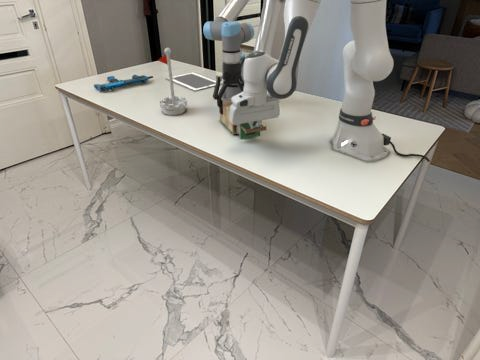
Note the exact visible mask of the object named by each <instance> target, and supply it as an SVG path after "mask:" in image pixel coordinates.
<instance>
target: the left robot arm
mask: <svg viewBox="0 0 480 360" xmlns="http://www.w3.org/2000/svg"><path fill="white" fill-rule="evenodd" d="M249 1H250V0H228V1H227V2H226V4H225V5H224V6H223V8H222V9H221V10H220V11H219V12H218V14H217V16H216V17H215V19H214V20H213V21H212V20H210V21H206V22H205V23H204V25H203V29H202V31H203V35H204V36H203V37H205V39H207V40H211V41H216V42H217V41H218V42H221V47H222V49H221V51H222V52H221V53H222V60H221V61H222V62H221V70H222V71H221V73H222V75H216V76H215V81H216V85H215V86H214V88H213V94H212V98H213V100H216V106H217V107H218V108H219V109H218V110H219V111H218V112H219V115H220V114H221V115H222V114H223V100H227V99H231V98H232V97H233V96H235V95H237V94H239V93H241V92H243V88H244V79H243V68H244V60H245V58H246V55H245V54H244V53H241V45H242V44H246V43H249V42H250V41H252V40H253V38H254V37H255V29H254V28H255V27H254V26H253V25H252V24H251V23H249V22H242V23H240V22H239V21H237V18H238V17H239V16H240V14H241V13H242V11H243V10H244V9H245V7H247V4H248V3H249ZM285 1H286V0H263V4H262V9H261V15H260V19H259V23H258V28H257V33H256V38H255V43H254V47H253V51H252V52H251V53H253V52H265V53H266V54H267V55H269V56H270V57H272V55H271V54H272V51H273V50H272V49H273V45H274V41H275V36H276V31H277V27H278V22H279V17H280V13H281V10H282V5H283V4H285ZM221 83H222V84H221Z"/></svg>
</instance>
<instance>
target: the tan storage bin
mask: <svg viewBox="0 0 480 360" xmlns="http://www.w3.org/2000/svg"><path fill="white" fill-rule="evenodd" d="M232 104H233V103H232V101H231V99H227V100H223V114H222V115H221V114H220V113H219V121H220V123H221V124H222V125H223V126H224V127H225V128H226V129H227V130H228V131H229V132H230V133H231V134H232V135H239V134H238V133H237V132H236V131H235V129H234V125H233V124H232V123H231V122H230V119H229V113H230V106H231V105H232Z"/></svg>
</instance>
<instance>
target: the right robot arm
mask: <svg viewBox="0 0 480 360" xmlns="http://www.w3.org/2000/svg"><path fill="white" fill-rule="evenodd" d="M321 2H322V0H286V1H285V3H284V8H283V22H284V23H283V24H284V38H283V44H282V47H281V50H280V54H279V58H278V59H277V58H274V57H272V56H271V57H270V56H269V55H267V54H266V53H265V52H253V51H252V52H253V53H252V52H251V53H249V54H247V55H246V56H245V60H244V68H243V79H244V88H243V92H241V93H239V94H237V95H235V96H233V97H232V98H231V101H232V103H233V104H232V105H231V106H230V113H229V119H230V122H231V123H232V124H233V125H237V124H243V123H249V125H250V126H251V129H253V128H258V127H259V126H260V125H261V124H262V123H263V121H266V120H271V119H277V118H279V116H280V115H281V114H280V113H281V111H280V100H284V99H287V98H290V97H291V96H292V95H294V92H296V91H295V90H296V88H297V75H296V74H297V68H298V64H299V60H300V57H301V54H302V50H303V47H304V44H305V41H306V38H307V36H308V33H309V31H310V29H311V26H312V24H313V22H314V20H315V17H316V15H317V12H318V10H319V7H320V5H321ZM349 12H350V13H349V14H350V17H349V21H350V22H349V26H350V31H351V33H352V36H353V40H351V41H349V42H348V43H346V44H345V46H344V47H343V49H342V51H341V59H342V63H343V75H344V76H343V78H344V81H343V82H344V85H343V86H344V87H343V88H344V89H343V95H342V96H343V97H342V103H341V108H340V109H339V113H338V122H337V123H338V124H337V127H336V130H335V132H334V135H333V137H332V139H331V144H332V149H333V150H334V151H336V152H340V153H343V154H344V155H345V154H346V155H348V156H351V157H354V158H356V159H359V160H361V161H365V162H374V161H379V160H381V159H383V158H385V157H387V155H388V154H389V152H390V150H389V148H387V147H386V146H389V145H391V147H392V149H393V152H394V153H395V154H396V155H397V156H400V157H404V158H406V157H419V158H423V159H425V160H426V161H427V162H428V163H431V160H430V158H429V157H428V156H426V155H423V154H419V153H406V154H405V153H401V152H399V151H397V149H396V146H395V144H394V142H392V141H391V139H392V137H391V136H389V135H387V134H384V133H381V131H379V128H377V126H376V125H375V124H374V121H375V120H376V119H377V116H373V113H372V109H373V104H374V100H375V95H376V90H375V86H374V82H381V81H383V80H385V79H386V78H387V77H388V76H390V74H391V73H392V72H393V69H394V62H395V61H394V58H393V56H392V53H391V51H390V48H389V47H390V46H389V41H388V35H387V27H386V15H387V0H350V11H349ZM255 121H257V124H256V125H255V126H253V125H252V124H253V122H255Z"/></svg>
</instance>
